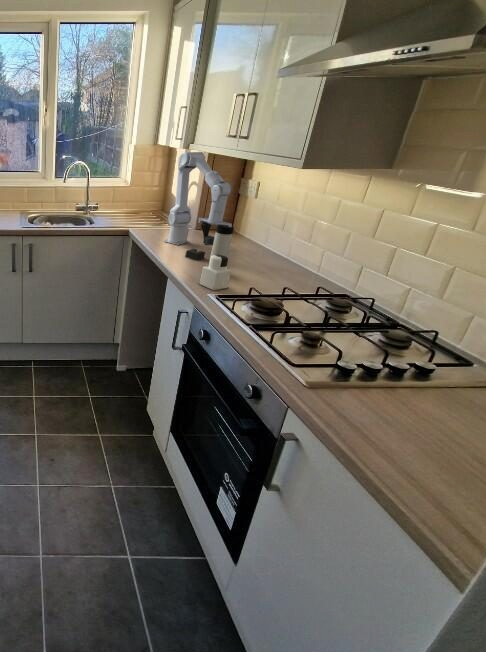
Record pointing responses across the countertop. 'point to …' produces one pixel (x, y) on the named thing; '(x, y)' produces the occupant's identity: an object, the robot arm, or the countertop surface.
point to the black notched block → (195, 254)
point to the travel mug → (222, 240)
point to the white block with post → (216, 273)
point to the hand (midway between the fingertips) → (210, 240)
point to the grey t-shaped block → (208, 240)
